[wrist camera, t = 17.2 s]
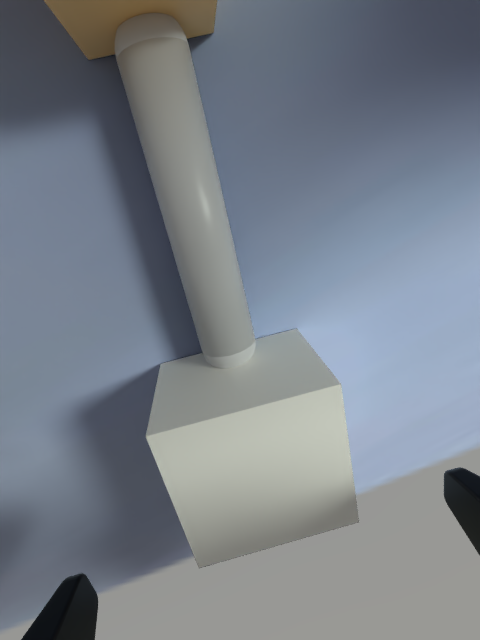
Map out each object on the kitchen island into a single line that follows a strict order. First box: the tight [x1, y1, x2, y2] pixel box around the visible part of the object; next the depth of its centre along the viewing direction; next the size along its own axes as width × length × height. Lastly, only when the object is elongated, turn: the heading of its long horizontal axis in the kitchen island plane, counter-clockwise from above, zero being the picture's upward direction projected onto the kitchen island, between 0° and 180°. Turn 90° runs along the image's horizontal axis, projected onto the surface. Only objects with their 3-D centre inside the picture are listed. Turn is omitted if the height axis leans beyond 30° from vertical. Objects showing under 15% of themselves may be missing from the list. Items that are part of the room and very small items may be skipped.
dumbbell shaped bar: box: [44, 0, 359, 568], centre depth 8 cm, size 4×16×4 cm, turn 13°
